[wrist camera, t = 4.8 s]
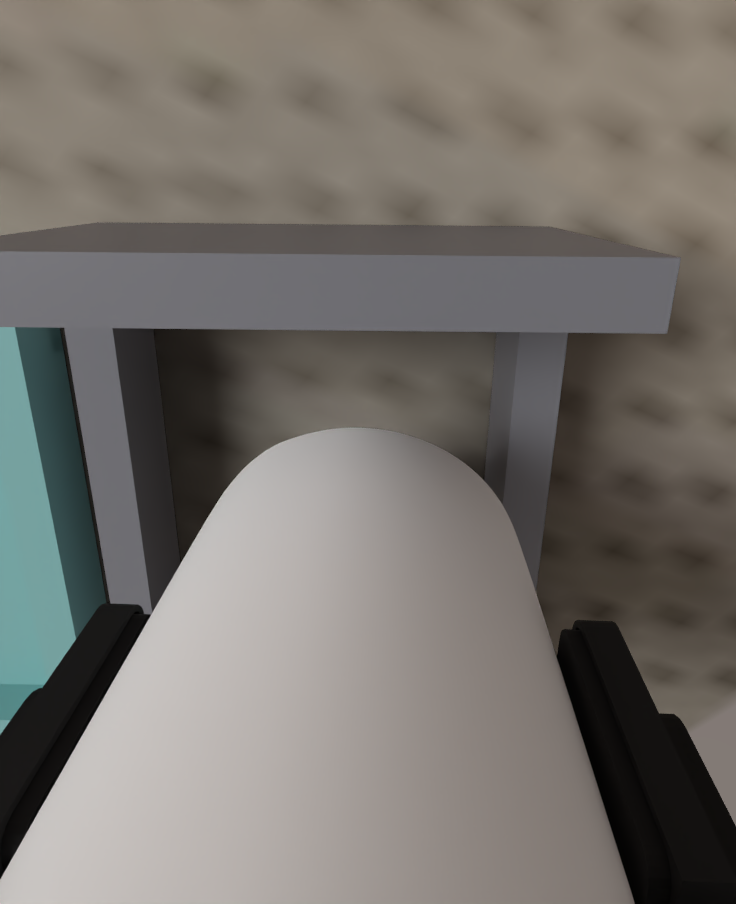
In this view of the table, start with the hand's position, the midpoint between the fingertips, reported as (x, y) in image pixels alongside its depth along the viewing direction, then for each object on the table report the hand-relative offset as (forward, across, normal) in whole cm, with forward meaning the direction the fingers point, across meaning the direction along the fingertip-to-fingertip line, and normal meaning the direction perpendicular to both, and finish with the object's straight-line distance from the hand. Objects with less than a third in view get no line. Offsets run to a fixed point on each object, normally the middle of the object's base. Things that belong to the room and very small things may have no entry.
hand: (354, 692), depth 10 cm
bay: (+8, +1, +1) cm, 8 cm away
